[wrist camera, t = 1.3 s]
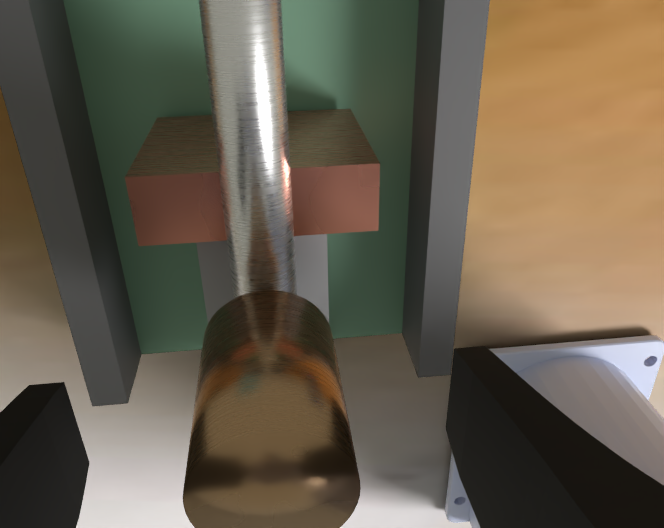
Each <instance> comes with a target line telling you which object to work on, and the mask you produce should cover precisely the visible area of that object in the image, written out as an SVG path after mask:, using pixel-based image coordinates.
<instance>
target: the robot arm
mask: <svg viewBox="0 0 664 528" xmlns="http://www.w3.org/2000/svg"><path fill="white" fill-rule="evenodd" d="M663 354H664V342H663V341H662V340H661V339H660V338H659V337H658V336H655V335H648V336H636V337H624V338H612V339H601V340H589V341H577V342H565V343H553V344H542V345H530V346H518V347H506V348H494V349H488V348H487V347H486V346H481V347H470V348H458V349H454V355H453V365H452V374H451V384H450V393H449V402H448V412H447V421H446V430H447V434H448V438H449V442H450V445H451V449H452V454H451V462H450V471H449V480H448V488H447V497H446V506H445V513H446V516H447V519H448V520H449V521H451V522H454V523H458V522H467V521H470V523H471V526H472V528H664V419H663V417H662V416H661V415H660V414H659V413H658V411H657V410H656V409H655V408H654V407H653V406H652V404H651V403H650V402H649V398H650V395H651V391H652V388H653V385H654V382H655V379H656V376H657V373H658V370H659V367H660V364H661V361H662V358H663ZM648 357H649V358H648ZM646 358H648V359H646ZM645 359H646V360H645ZM88 467H89V460H88V457H87V454H86V451H85V448H84V444H83V441H82V438H81V435H80V431H79V428H78V425H77V422H76V419H75V415H74V412H73V409H72V406H71V403H70V399H69V396H68V393H67V390H66V387H65V383H64V382H61V383H49V384H37V385H29V386H28V387H27V388H26V389H24V390H23V391H22V392H21V393H20V394H19V395H18V396H17V397H16V398H15V399H14V400H13V401H12V402H11V403H10V404H9V405H8V406H7V407H6V408H5V409H4V410H3V411H2V412H1V413H0V528H76V525H77V522H78V519H79V514H80V509H81V505H82V500H83V495H84V490H85V484H86V478H87V473H88Z"/></svg>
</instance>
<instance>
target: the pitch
mask: <svg viewBox="0 0 664 528" xmlns="http://www.w3.org/2000/svg"><path fill="white" fill-rule="evenodd" d="M489 2H490V0H281V6H282V24H283V43H284V61H285V79H286V98H287V111H307V110H329V109H351V111H352V112H353V114H354V116H355V118H356V120H357V122H358V124H359V125H360V127H361V129H362V131H363V133H364V135H365V136H366V138H367V140H368V142H369V144H370V146H371V148H372V149H373V151H374V153H375V155H376V157H377V159H378V161H379V162H380V185H379V227H378V231H364V232H349V233H334V234H318V235H303V236H294V244H295V263H296V281H297V295H298V296H301V297H303V298H305V299H307V300H308V301H310V302H311V303H313V304H314V305H315V306H316V307H317V308H319V310H320V311H321V312H322V313H323V314H324V316H325V317H326V319H327V320H328V323H329V325H330V328H331V331H332V336H333V339H335V338H348V337H360V336H372V335H385V334H397V333H402V334H403V337H404V340H405V342H406V345H407V348H408V351H409V353H410V356H411V359H412V362H413V364H414V367H415V370H416V373H417V375H418V378H419V377H431V376H442V375H451V365H452V356H453V346H454V337H455V327H456V318H457V308H458V298H459V289H460V279H461V270H462V260H463V251H464V241H465V231H466V222H467V212H468V203H469V193H470V184H471V174H472V164H473V155H474V145H475V136H476V126H477V117H478V107H479V97H480V88H481V78H482V69H483V59H484V50H485V40H486V30H487V21H488V11H489ZM0 87H1V90H2V94H3V97H4V101H5V104H6V107H7V111H8V114H9V118H10V121H11V125H12V128H13V132H14V135H15V139H16V142H17V146H18V149H19V153H20V156H21V160H22V163H23V167H24V170H25V174H26V177H27V181H28V184H29V187H30V191H31V194H32V198H33V201H34V205H35V208H36V212H37V215H38V219H39V222H40V226H41V229H42V233H43V236H44V240H45V243H46V247H47V250H48V254H49V257H50V260H51V264H52V267H53V271H54V274H55V278H56V281H57V285H58V288H59V292H60V295H61V299H62V302H63V306H64V309H65V313H66V316H67V320H68V323H69V327H70V330H71V333H72V337H73V340H74V344H75V347H76V351H77V354H78V358H79V361H80V365H81V368H82V372H83V375H84V379H85V382H86V386H87V389H88V393H89V396H90V400H91V403H92V406H102V405H113V404H125V403H128V401H129V397H130V394H131V390H132V387H133V383H134V379H135V376H136V372H137V368H138V365H139V361H140V357H141V354H151V353H163V352H175V351H188V350H200V349H202V346H203V339H204V334H205V330H206V327H207V325H208V323H209V321H210V320H211V318H212V317H213V315H214V314H215V313H216V312H217V311H218V310H219V309H220V308H221V307H222V306H223V305H225V304H226V303H228V302H229V301H231V300H233V299H234V298H233V289H232V281H231V272H230V264H229V255H228V247H227V240H226V241H211V242H196V243H180V244H165V245H150V246H138V241H137V236H136V231H135V226H134V221H133V216H132V211H131V206H130V201H129V196H128V191H127V186H126V181H125V176H126V174H127V172H128V170H129V169H130V167H131V165H132V163H133V161H134V159H135V158H136V156H137V154H138V152H139V150H140V148H141V147H142V145H143V143H144V141H145V139H146V137H147V136H148V134H149V132H150V130H151V128H152V126H153V124H154V123H155V121H156V119H157V117H178V116H200V115H212V111H211V102H210V94H209V85H208V77H207V68H206V60H205V51H204V43H203V34H202V26H201V17H200V9H199V0H0Z"/></svg>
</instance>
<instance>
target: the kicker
mask: <svg viewBox="0 0 664 528" xmlns="http://www.w3.org/2000/svg"><path fill="white" fill-rule="evenodd" d="M199 9H200V17H201V26H202V34H203V43H204V51H205V60H206V68H207V77H208V85H209V94H210V102H211V111H212V115H200V116H178V117H157V119H156V121H155V123H154V124H153V126H152V128H151V130H150V132H149V134H148V136H147V137H146V139H145V141H144V143H143V145H142V147H141V148H140V150H139V152H138V154H137V156H136V158H135V159H134V161H133V163H132V165H131V167H130V169H129V170H128V172H127V174H126V176H125V181H126V186H127V191H128V196H129V201H130V206H131V211H132V216H133V221H134V226H135V231H136V236H137V241H138V246H150V245H165V244H180V243H196V242H211V241H226V240H227V247H228V255H229V264H230V272H231V281H232V289H233V298H234V299H233V300H231V301H229V302H228V303H226V304H225V305H223V306H222V307H221V308H220V309H219V310H218V311H217V312H216V313H215V314H214V315H213V317H212V318H211V320H210V321H209V323H208V325H207V327H206V330H205V334H204V339H203V346H202V354H201V362H200V369H199V377H198V384H197V392H196V400H195V407H194V415H193V423H192V430H191V438H190V445H189V453H188V461H187V468H186V476H185V483H184V491H183V504H184V509H185V512H186V515H187V516H188V518H189V520H190V522H191V523H192V524H193V526H194V527H195V528H340V527H341V526H342V525H343V524H344V523H345V522H346V521H347V520H348V518H349V517H350V516H351V514H352V513H353V511H354V509H355V507H356V505H357V503H358V500H359V496H360V479H359V473H358V468H357V463H356V458H355V452H354V447H353V442H352V436H351V431H350V426H349V421H348V415H347V410H346V405H345V399H344V394H343V389H342V384H341V378H340V373H339V368H338V362H337V357H336V352H335V347H334V341H333V336H332V331H331V328H330V325H329V323H328V320H327V319H326V317H325V316H324V314H323V313H322V312H321V311H320V310H319V308H317V307H316V306H315V305H314V304H313V303H311V302H310V301H308V300H307V299H305V298H303V297H301V296H298V295H297V281H296V263H295V244H294V236H303V235H318V234H334V233H349V232H364V231H378V227H379V185H380V162H379V161H378V159H377V157H376V155H375V153H374V151H373V149H372V148H371V146H370V144H369V142H368V140H367V138H366V136H365V135H364V133H363V131H362V129H361V127H360V125H359V124H358V122H357V120H356V118H355V116H354V114H353V112H352V111H351V109H329V110H307V111H287V98H286V79H285V61H284V43H283V24H282V6H281V0H199Z"/></svg>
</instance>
